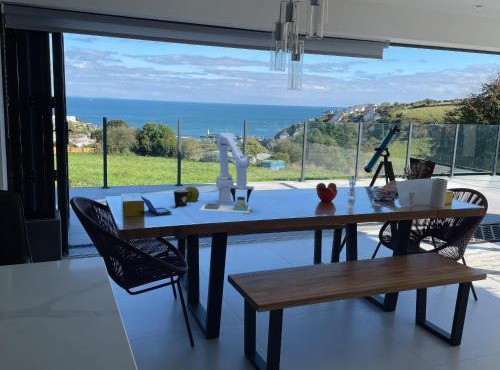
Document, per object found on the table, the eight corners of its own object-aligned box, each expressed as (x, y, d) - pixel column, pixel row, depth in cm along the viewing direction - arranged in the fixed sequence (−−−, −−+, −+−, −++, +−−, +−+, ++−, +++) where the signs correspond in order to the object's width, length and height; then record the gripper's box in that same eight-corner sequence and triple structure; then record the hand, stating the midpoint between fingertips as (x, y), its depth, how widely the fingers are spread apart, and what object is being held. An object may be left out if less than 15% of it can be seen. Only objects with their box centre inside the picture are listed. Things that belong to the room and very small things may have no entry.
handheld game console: (172, 215, 258) (172, 198, 256) (149, 217, 251) (149, 200, 249) (163, 209, 271) (163, 193, 269) (140, 211, 264) (140, 195, 263)
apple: (200, 201, 295) (200, 184, 293) (197, 204, 286) (197, 186, 284) (184, 200, 296) (185, 183, 294) (181, 203, 287) (181, 186, 285)
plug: (237, 208, 273) (238, 196, 272) (244, 208, 272) (244, 197, 271) (236, 209, 269) (237, 198, 268) (243, 210, 269) (243, 198, 267)
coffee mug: (174, 209, 272) (174, 192, 270) (172, 205, 280) (172, 189, 278) (194, 208, 275) (194, 191, 273) (192, 205, 283) (192, 189, 281)
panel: (204, 206, 281) (204, 201, 280) (251, 208, 277) (251, 204, 277) (198, 211, 267) (198, 206, 267) (248, 214, 264) (248, 209, 263)
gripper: (227, 179, 265) (227, 202, 267) (253, 180, 263) (252, 203, 265) (230, 177, 272) (229, 200, 274) (254, 178, 270) (253, 201, 272)
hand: (240, 201), depth 270 cm, fingers open, 7 cm apart
